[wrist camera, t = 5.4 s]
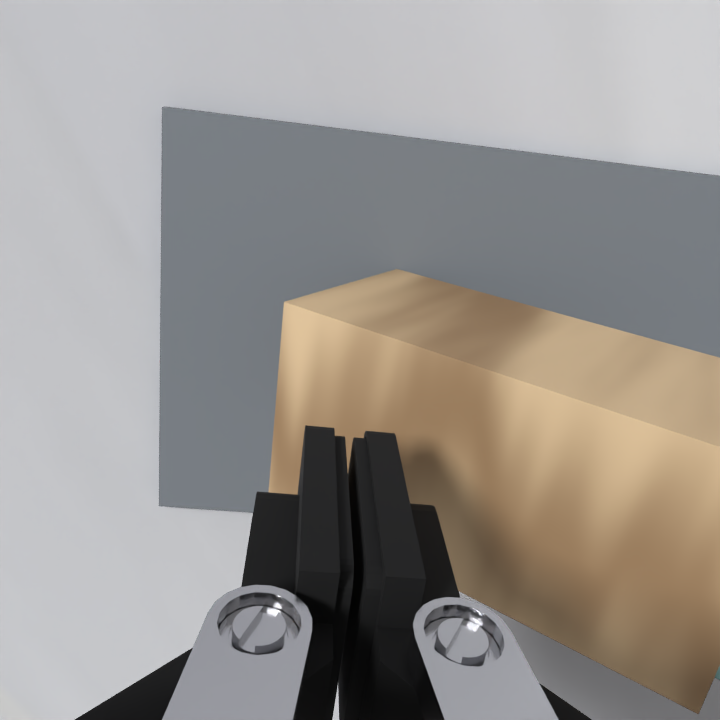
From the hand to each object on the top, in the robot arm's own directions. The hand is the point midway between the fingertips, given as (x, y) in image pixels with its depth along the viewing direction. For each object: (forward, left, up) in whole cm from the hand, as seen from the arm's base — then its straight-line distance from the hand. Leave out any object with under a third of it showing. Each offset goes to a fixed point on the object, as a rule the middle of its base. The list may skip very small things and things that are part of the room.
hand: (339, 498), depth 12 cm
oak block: (0, 0, -6) cm, 6 cm away
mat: (0, +4, -8) cm, 9 cm away
